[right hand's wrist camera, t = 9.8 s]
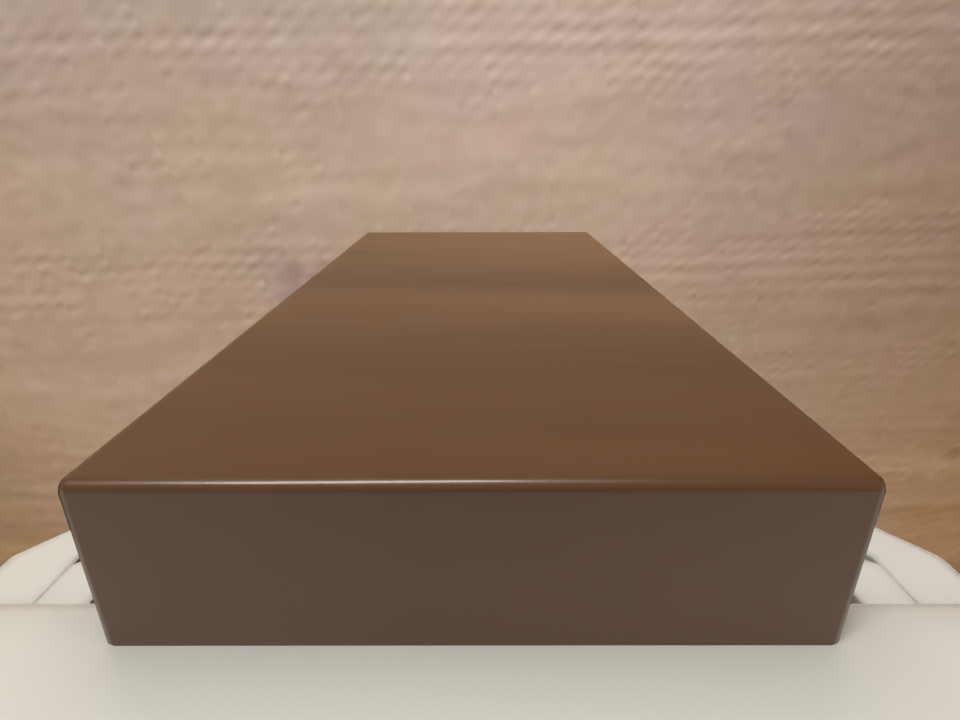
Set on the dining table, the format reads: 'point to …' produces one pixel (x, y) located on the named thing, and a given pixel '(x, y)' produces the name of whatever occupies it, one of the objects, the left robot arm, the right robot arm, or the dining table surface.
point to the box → (473, 470)
